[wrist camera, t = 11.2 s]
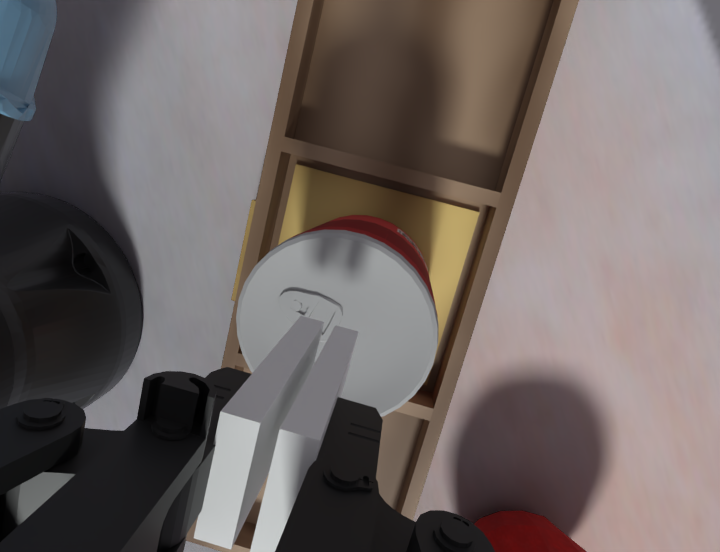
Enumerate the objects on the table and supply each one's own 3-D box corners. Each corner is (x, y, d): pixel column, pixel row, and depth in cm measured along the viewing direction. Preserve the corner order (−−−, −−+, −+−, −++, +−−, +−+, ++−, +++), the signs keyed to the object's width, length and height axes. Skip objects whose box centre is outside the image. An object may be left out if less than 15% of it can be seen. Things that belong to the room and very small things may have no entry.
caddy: (200, 508, 35) (180, 538, 32) (329, -98, 27) (319, -133, 24) (388, 566, 34) (386, 602, 31) (579, -40, 26) (600, -69, 23)
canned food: (311, 200, 29) (251, 209, 18) (443, 231, 28) (464, 259, 17) (286, 321, 30) (218, 397, 19) (412, 352, 30) (413, 448, 19)
